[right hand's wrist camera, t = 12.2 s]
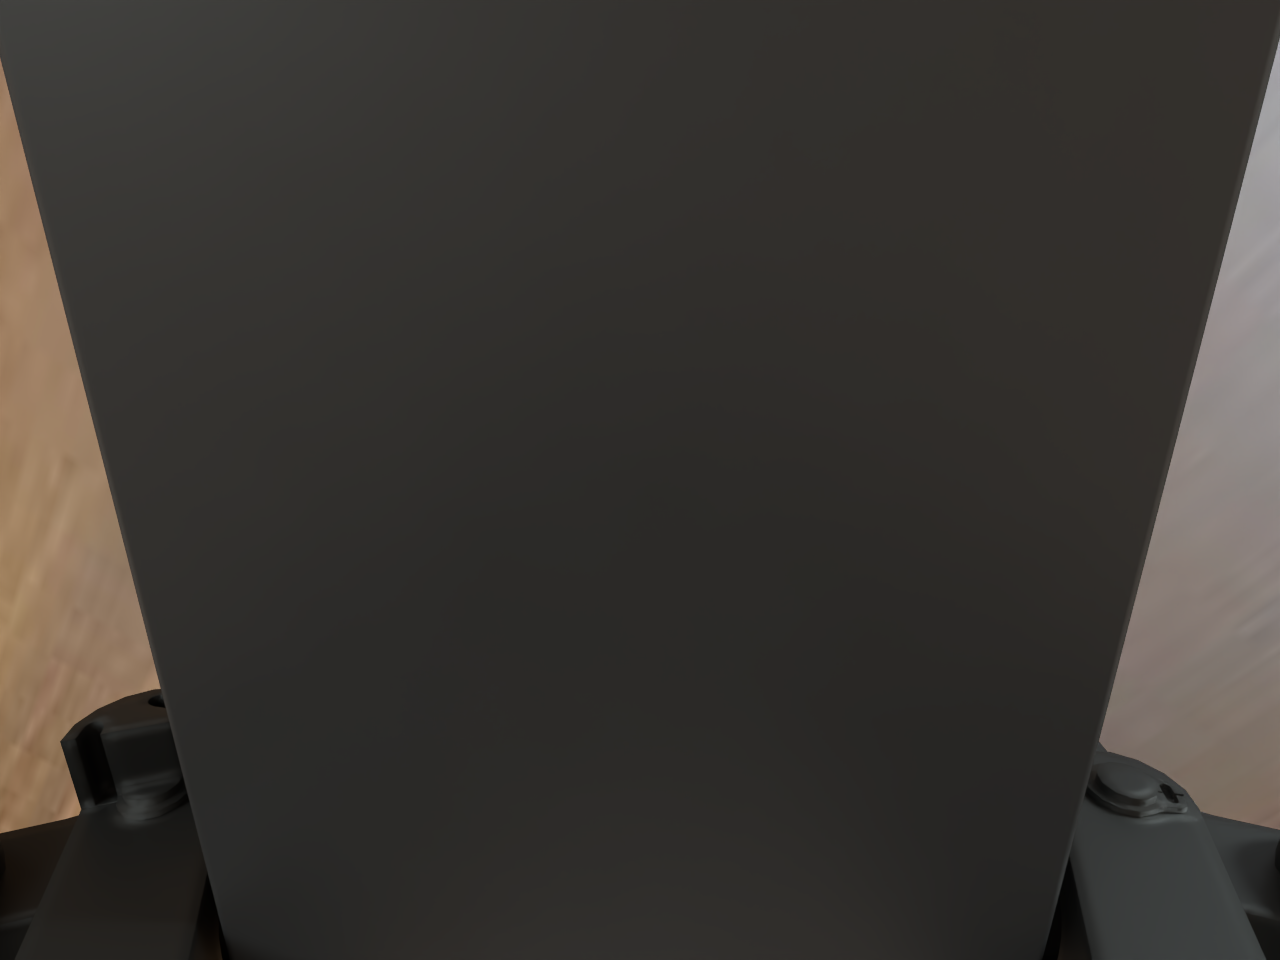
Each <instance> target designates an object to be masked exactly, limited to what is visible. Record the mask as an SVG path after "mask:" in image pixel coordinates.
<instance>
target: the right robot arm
mask: <svg viewBox="0 0 1280 960" xmlns="http://www.w3.org/2000/svg"><path fill="white" fill-rule="evenodd" d="M60 742H61V746H62V749H63V752H64V755H65V758H66V762H67V765H68V768H69V771H70V774H71V778H72V781H73V784H74V787H75V790H76V794H77V797H78V800H79V803H80V806H81V812H80V814H79V816H75V817H72V818H68V819H64V820H60V821H55V822H51V823H46V824H41V825H37V826H32V827H28V828H23V829H19V830H14V831H10V832H5V833H0V960H230V958H229V954H228V951H227V947H226V943H225V939H224V935H223V931H222V927H221V923H220V919H219V915H218V911H217V907H216V903H215V899H214V896H213V892H212V888H211V884H210V880H209V876H208V872H207V868H206V864H205V860H204V856H203V852H202V848H201V844H200V840H199V837H198V833H197V829H196V825H195V821H194V817H193V813H192V809H191V805H190V801H189V797H188V793H187V789H186V785H185V782H184V778H183V774H182V770H181V766H180V762H179V758H178V754H177V750H176V746H175V742H174V738H173V734H172V730H171V726H170V723H169V719H168V715H167V711H166V707H165V703H164V699H163V695H162V691H161V689H155V690H150V691H147V692H143V693H139V694H135V695H131V696H127V697H124V698H122V699H120V700H117V701H115V702H113V703H110V704H108V705H106V706H104V707H101V708H99V709H97V710H96V711H94V712H93V713H91V714H90V715H88V716H87V717H85V718H84V719H82V720H81V721H79V722H78V723H76V724H75V725H74V726H73V727H72V728H71V730H70V731H69V732H68V733H67V734H66V735H65V737H64V738H63V739H62V740H61V741H60ZM1042 960H1280V830H1277V829H1273V828H1268V827H1264V826H1259V825H1254V824H1250V823H1245V822H1241V821H1236V820H1231V819H1227V818H1222V817H1218V816H1213V815H1210V814H1206V813H1203V812H1200V810H1199V808H1198V807H1197V805H1196V804H1195V803H1194V801H1193V800H1192V798H1191V797H1190V796H1189V794H1188V793H1187V792H1186V790H1185V789H1183V788H1182V787H1181V786H1179V785H1178V784H1177V783H1176V782H1174V781H1173V780H1172V779H1170V778H1169V777H1168V776H1167V775H1165V774H1164V773H1162V772H1160V771H1158V770H1156V769H1154V768H1152V767H1150V766H1148V765H1146V764H1144V763H1142V762H1140V761H1138V760H1135V759H1132V758H1128V757H1125V756H1122V755H1118V754H1115V753H1111V752H1107V751H1106V750H1105V748H1104V747H1103V746H1102V745H1101V744H1100V742H1098V745H1097V749H1096V753H1095V757H1094V761H1093V765H1092V769H1091V773H1090V776H1089V780H1088V784H1087V788H1086V792H1085V796H1084V800H1083V804H1082V808H1081V811H1080V815H1079V819H1078V823H1077V827H1076V831H1075V835H1074V839H1073V843H1072V846H1071V850H1070V854H1069V858H1068V862H1067V866H1066V870H1065V874H1064V878H1063V881H1062V885H1061V889H1060V893H1059V897H1058V901H1057V905H1056V909H1055V912H1054V916H1053V920H1052V924H1051V928H1050V932H1049V936H1048V940H1047V944H1046V947H1045V951H1044V955H1043V959H1042Z"/></svg>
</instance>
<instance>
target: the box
mask: <svg viewBox="0 0 1280 960" xmlns="http://www.w3.org/2000/svg"><path fill="white" fill-rule="evenodd" d="M1279 38H1280V0H0V58H1V62H2V66H3V70H4V74H5V78H6V82H7V86H8V90H9V94H10V97H11V101H12V105H13V109H14V113H15V117H16V121H17V125H18V129H19V133H20V137H21V141H22V145H23V149H24V152H25V156H26V160H27V164H28V168H29V172H30V176H31V180H32V184H33V188H34V192H35V196H36V200H37V204H38V208H39V211H40V215H41V219H42V223H43V227H44V231H45V235H46V239H47V243H48V247H49V251H50V255H51V259H52V263H53V267H54V270H55V274H56V278H57V282H58V286H59V290H60V294H61V298H62V302H63V306H64V310H65V314H66V318H67V322H68V325H69V329H70V333H71V337H72V341H73V345H74V349H75V353H76V357H77V361H78V365H79V369H80V373H81V377H82V381H83V384H84V388H85V392H86V396H87V400H88V404H89V408H90V412H91V416H92V420H93V424H94V428H95V432H96V436H97V439H98V443H99V447H100V451H101V455H102V459H103V463H104V467H105V471H106V475H107V479H108V483H109V487H110V491H111V495H112V498H113V502H114V506H115V510H116V514H117V518H118V522H119V526H120V530H121V534H122V538H123V542H124V546H125V550H126V553H127V557H128V561H129V565H130V569H131V573H132V577H133V581H134V585H135V589H136V593H137V597H138V601H139V605H140V609H141V612H142V616H143V620H144V624H145V628H146V632H147V636H148V640H149V644H150V648H151V652H152V656H153V660H154V664H155V667H156V671H157V675H158V679H159V683H160V687H161V691H162V695H163V699H164V703H165V707H166V711H167V715H168V719H169V723H170V726H171V730H172V734H173V738H174V742H175V746H176V750H177V754H178V758H179V762H180V766H181V770H182V774H183V778H184V782H185V785H186V789H187V793H188V797H189V801H190V805H191V809H192V813H193V817H194V821H195V825H196V829H197V833H198V837H199V840H200V844H201V848H202V852H203V856H204V860H205V864H206V868H207V872H208V876H209V880H210V884H211V888H212V892H213V896H214V899H215V903H216V907H217V911H218V915H219V919H220V923H221V927H222V931H223V935H224V939H225V943H226V947H227V951H228V954H229V958H230V960H1042V959H1043V955H1044V951H1045V947H1046V944H1047V940H1048V936H1049V932H1050V928H1051V924H1052V920H1053V916H1054V912H1055V909H1056V905H1057V901H1058V897H1059V893H1060V889H1061V885H1062V881H1063V878H1064V874H1065V870H1066V866H1067V862H1068V858H1069V854H1070V850H1071V846H1072V843H1073V839H1074V835H1075V831H1076V827H1077V823H1078V819H1079V815H1080V811H1081V808H1082V804H1083V800H1084V796H1085V792H1086V788H1087V784H1088V780H1089V776H1090V773H1091V769H1092V765H1093V761H1094V757H1095V753H1096V749H1097V745H1098V742H1099V738H1100V734H1101V730H1102V726H1103V722H1104V718H1105V714H1106V710H1107V707H1108V703H1109V699H1110V695H1111V691H1112V687H1113V683H1114V679H1115V675H1116V672H1117V668H1118V664H1119V660H1120V656H1121V652H1122V648H1123V644H1124V641H1125V637H1126V633H1127V629H1128V625H1129V621H1130V617H1131V613H1132V609H1133V606H1134V602H1135V598H1136V594H1137V590H1138V586H1139V582H1140V578H1141V574H1142V571H1143V567H1144V563H1145V559H1146V555H1147V551H1148V547H1149V543H1150V540H1151V536H1152V532H1153V528H1154V524H1155V520H1156V516H1157V512H1158V508H1159V505H1160V501H1161V497H1162V493H1163V489H1164V485H1165V481H1166V477H1167V473H1168V470H1169V466H1170V462H1171V458H1172V454H1173V450H1174V446H1175V442H1176V438H1177V435H1178V431H1179V427H1180V423H1181V419H1182V415H1183V411H1184V407H1185V404H1186V400H1187V396H1188V392H1189V388H1190V384H1191V380H1192V376H1193V372H1194V369H1195V365H1196V361H1197V357H1198V353H1199V349H1200V345H1201V341H1202V337H1203V334H1204V330H1205V326H1206V322H1207V318H1208V314H1209V310H1210V306H1211V303H1212V299H1213V295H1214V291H1215V287H1216V283H1217V279H1218V275H1219V271H1220V268H1221V264H1222V260H1223V256H1224V252H1225V248H1226V244H1227V240H1228V236H1229V233H1230V229H1231V225H1232V221H1233V217H1234V213H1235V209H1236V205H1237V201H1238V198H1239V194H1240V190H1241V186H1242V182H1243V178H1244V174H1245V170H1246V167H1247V163H1248V159H1249V155H1250V151H1251V147H1252V143H1253V139H1254V135H1255V132H1256V128H1257V124H1258V120H1259V116H1260V112H1261V108H1262V104H1263V100H1264V97H1265V93H1266V89H1267V85H1268V81H1269V77H1270V73H1271V69H1272V66H1273V62H1274V58H1275V54H1276V50H1277V46H1278V42H1279Z"/></svg>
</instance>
